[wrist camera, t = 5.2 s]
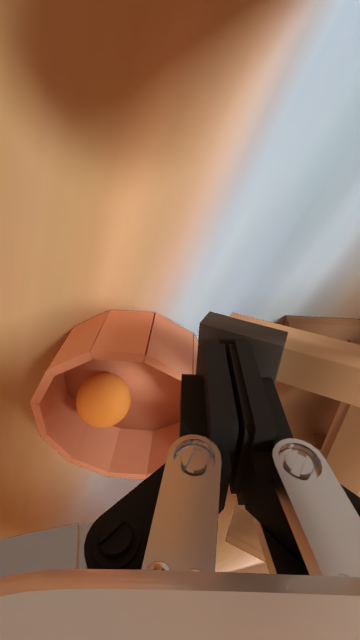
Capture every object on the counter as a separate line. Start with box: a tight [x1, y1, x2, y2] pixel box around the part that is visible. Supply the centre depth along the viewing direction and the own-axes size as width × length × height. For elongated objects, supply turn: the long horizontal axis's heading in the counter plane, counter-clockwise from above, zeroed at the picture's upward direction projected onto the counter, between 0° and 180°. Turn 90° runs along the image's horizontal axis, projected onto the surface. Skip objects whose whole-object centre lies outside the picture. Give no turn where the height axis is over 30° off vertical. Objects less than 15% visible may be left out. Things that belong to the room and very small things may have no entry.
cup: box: [30, 310, 198, 479], centre depth 24 cm, size 12×12×5 cm
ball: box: [76, 373, 131, 428], centre depth 24 cm, size 4×4×4 cm
